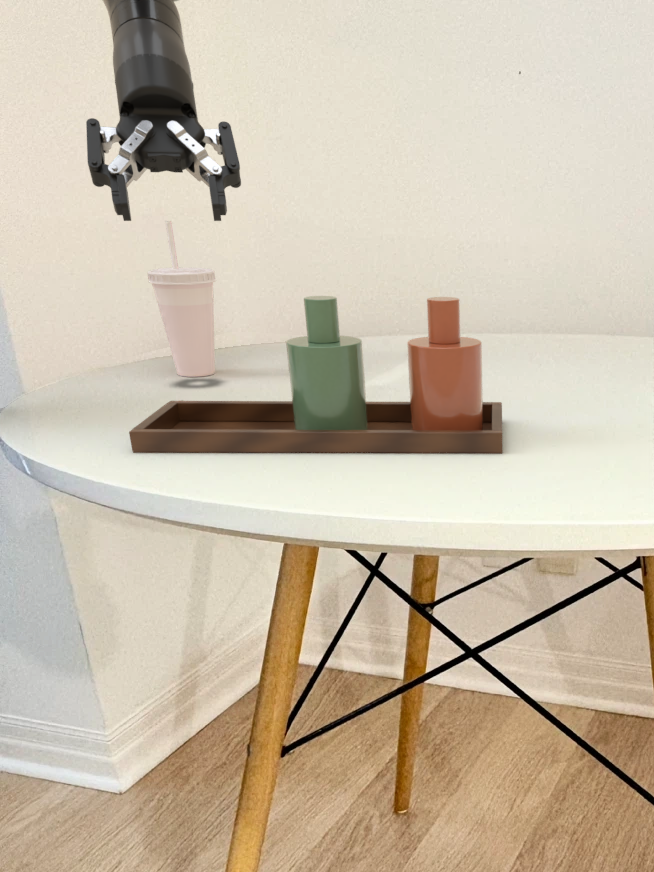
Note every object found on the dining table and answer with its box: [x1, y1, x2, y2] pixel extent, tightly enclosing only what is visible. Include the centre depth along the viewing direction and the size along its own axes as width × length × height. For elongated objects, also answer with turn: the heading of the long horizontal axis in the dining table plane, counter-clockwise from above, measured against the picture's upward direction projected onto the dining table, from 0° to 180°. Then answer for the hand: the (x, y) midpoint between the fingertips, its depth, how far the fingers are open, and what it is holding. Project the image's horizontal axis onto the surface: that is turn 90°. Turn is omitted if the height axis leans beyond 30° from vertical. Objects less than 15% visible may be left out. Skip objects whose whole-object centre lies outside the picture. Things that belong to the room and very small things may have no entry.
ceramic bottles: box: [285, 295, 484, 430], centre depth 76 cm, size 15×6×10 cm, turn 92°
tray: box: [128, 400, 503, 455], centre depth 78 cm, size 27×11×2 cm, turn 92°
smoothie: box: [146, 220, 217, 378], centre depth 99 cm, size 6×6×14 cm
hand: (172, 214), depth 99 cm, fingers open, 8 cm apart
